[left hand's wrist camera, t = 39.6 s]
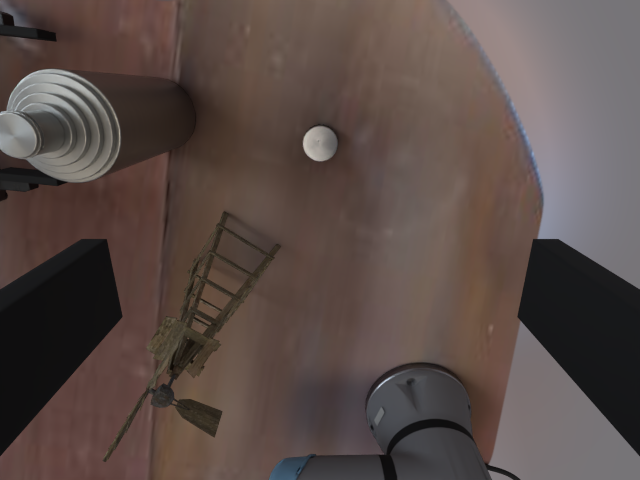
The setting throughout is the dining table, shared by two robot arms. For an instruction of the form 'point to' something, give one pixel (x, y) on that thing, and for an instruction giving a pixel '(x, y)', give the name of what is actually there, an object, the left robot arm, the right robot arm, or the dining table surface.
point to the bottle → (93, 122)
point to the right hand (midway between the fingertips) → (57, 111)
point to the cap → (320, 143)
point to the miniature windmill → (193, 339)
